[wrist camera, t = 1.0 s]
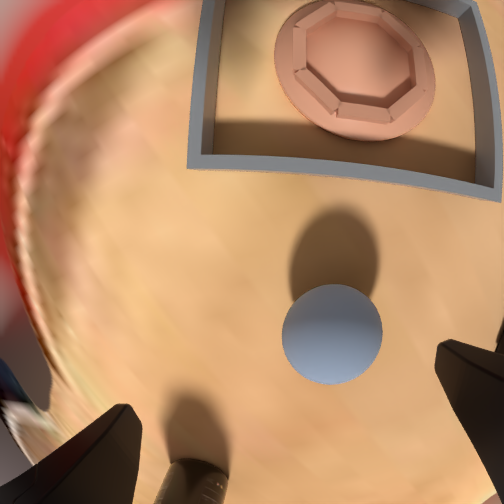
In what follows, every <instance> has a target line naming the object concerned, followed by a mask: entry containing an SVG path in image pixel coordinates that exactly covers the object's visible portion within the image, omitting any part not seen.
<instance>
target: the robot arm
mask: <svg viewBox="0 0 504 504" xmlns="http://www.w3.org/2000/svg"><path fill="white" fill-rule="evenodd" d="M435 372H436V374H437V376H438V378H439V380H440V383H441V385H442V387H443V389H444V391H445V393H446V395H447V398H448V400H449V402H450V404H451V406H452V408H453V410H454V412H455V414H456V416H457V418H458V419H459V421H460V423H461V424H462V426H463V428H464V430H465V431H466V433H467V435H468V437H469V439H470V440H471V442H472V444H473V446H474V448H475V449H476V451H477V453H478V455H479V457H480V459H481V461H482V463H483V465H484V467H485V469H486V471H487V473H488V475H489V477H490V479H491V481H492V483H493V485H494V487H495V489H496V491H497V493H498V495H499V498H500V500H501V502H502V504H504V331H503V334H502V337H501V340H500V343H499V345H498V348H497V351H496V353H495V352H492V351H488V350H485V349H482V348H478V347H475V346H472V345H469V344H465V343H462V342H459V341H456V340H453V339H448V340H446V341H443V342H441V343H439V344H438V346H437V352H436V359H435ZM141 439H142V423H141V421H140V419H139V418H138V416H137V415H136V413H135V411H134V410H133V408H132V406H131V405H129V404H116V405H114V406H113V407H112V408H111V409H109V410H108V411H107V412H105V413H104V414H103V415H102V416H100V417H99V418H98V419H96V420H95V421H94V422H92V423H91V424H90V425H88V426H87V427H86V428H84V429H83V430H82V431H80V432H79V433H78V434H76V435H75V436H74V437H72V438H71V439H70V440H68V441H67V442H66V443H64V444H63V445H62V446H60V447H59V448H58V449H56V450H55V451H54V452H52V453H51V454H49V455H48V456H47V457H45V458H44V459H42V460H41V461H40V462H38V464H35V465H34V466H33V467H31V468H30V469H29V470H27V471H25V472H24V473H22V474H21V475H20V476H18V477H16V478H15V479H13V480H11V481H9V482H8V483H6V484H4V485H2V486H0V504H132V502H133V497H134V491H135V486H136V481H137V476H138V470H139V461H140V449H141Z"/></svg>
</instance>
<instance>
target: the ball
mask: <svg viewBox="0 0 504 504" xmlns="http://www.w3.org/2000/svg"><path fill="white" fill-rule="evenodd" d="M382 332H383V331H382V322H381V318H380V315H379V313H378V311H377V309H376V307H375V306H374V304H373V303H372V302H371V300H370V299H369V298H368V297H367V296H366V295H364V294H363V293H362V292H360V291H358V290H357V289H355V288H352V287H350V286H346V285H341V284H328V285H322V286H318V287H316V288H313V289H311V290H309V291H307V292H306V293H304V294H303V295H302V296H300V297H299V298H298V299H297V300H296V301H295V302H294V304H293V305H292V306H291V308H290V309H289V311H288V313H287V315H286V317H285V320H284V324H283V329H282V344H283V348H284V352H285V355H286V357H287V359H288V361H289V362H290V364H291V365H292V367H293V368H294V369H295V370H296V371H297V372H298V373H300V374H301V375H302V376H303V377H305V378H307V379H309V380H311V381H314V382H317V383H321V384H328V385H330V384H340V383H345V382H347V381H350V380H352V379H354V378H356V377H358V376H359V375H361V374H362V373H363V372H364V371H366V370H367V369H368V368H369V366H370V365H371V364H372V363H373V361H374V360H375V358H376V356H377V354H378V352H379V349H380V347H381V342H382Z"/></svg>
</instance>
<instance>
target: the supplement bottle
mask: <svg viewBox="0 0 504 504" xmlns="http://www.w3.org/2000/svg"><path fill="white" fill-rule="evenodd" d="M227 486H228V479H227V477H226V475H225V474H224V473H223V472H222V471H221V470H220V469H218V468H217V467H215V466H213V465H211V464H208V463H206V462H203V461H199V460H193V459H181V460H177V461H175V462H173V463H172V464H171V465H170V467H169V469H168V471H167V474H166V476H165V478H164V480H163V483H162V485H161V487H160V490H159V492H158V494H157V496H156V499H155V501H154V503H153V504H223V503H224V499H225V495H226V491H227Z"/></svg>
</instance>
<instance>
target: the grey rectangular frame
mask: <svg viewBox="0 0 504 504" xmlns="http://www.w3.org/2000/svg"><path fill="white" fill-rule="evenodd" d="M225 1H226V0H203V5H202V11H201V18H200V25H199V32H198V40H197V48H196V56H195V65H194V75H193V85H192V96H191V107H190V121H189V135H188V153H187V169H193V170H201V171H246V172H269V173H286V174H301V175H313V176H325V177H336V178H345V179H355V180H363V181H372V182H380V183H387V184H394V185H401V186H408V187H415V188H421V189H427V190H433V191H439V192H444V193H450V194H455V195H460V196H465V197H470V198H475V199H479V200H485V201H492V202H499V203H501V198H502V180H503V142H502V124H501V112H500V102H499V94H498V87H497V81H496V75H495V69H494V64H493V59H492V55H491V50H490V46H489V42H488V38H487V34H486V31H485V27H484V24H483V20H482V17H481V14H480V11H479V8H478V5H477V2H475V1H473V0H406V1H409V2H413V3H416V4H419V5H423V6H426V7H429V8H432V9H435V10H438V11H440V12H443V13H446V14H449V15H451V16H454V17H456V18H458V20H459V24H460V27H461V32H462V36H463V40H464V45H465V50H466V55H467V60H468V66H469V72H470V79H471V86H472V95H473V105H474V118H475V141H476V168H475V184H473V183H469V182H464V181H460V180H455V179H451V178H446V177H441V176H436V175H430V174H425V173H420V172H414V171H408V170H402V169H395V168H389V167H382V166H374V165H367V164H359V163H350V162H341V161H331V160H320V159H308V158H295V157H278V156H256V155H213V140H214V123H215V108H216V94H217V81H218V69H219V58H220V47H221V37H222V27H223V18H224V9H225ZM274 60H275V67H276V72H277V76H278V79H279V82H280V85H281V87H282V89H283V91H284V92H285V94H286V96H287V97H288V99H289V100H290V101H291V103H292V104H293V105H294V106H295V107H296V108H297V110H298V111H299V112H300V113H302V114H303V115H304V116H305V117H306V118H307V119H308V120H310V121H311V122H313V123H314V124H315V125H317V126H319V127H321V128H322V129H324V130H326V131H328V132H330V133H333V134H335V135H337V136H340V137H344V138H347V139H351V140H357V141H367V142H373V141H383V140H389V139H392V138H395V137H398V136H400V135H403V134H404V133H406V132H408V131H410V130H412V129H413V128H414V127H416V126H417V125H418V124H419V123H420V122H421V121H422V120H423V119H424V118H425V116H426V115H427V113H428V112H429V109H430V107H431V105H432V102H433V99H434V95H435V74H434V68H433V65H432V62H431V59H430V57H429V55H428V52H427V50H426V49H425V47H424V45H423V44H422V42H421V41H420V39H419V38H418V37H417V35H416V34H415V33H414V32H413V31H412V30H411V29H410V28H409V27H408V26H407V25H406V24H405V23H404V22H402V21H401V20H400V19H398V18H397V17H396V16H394V15H393V14H391V13H389V12H388V11H386V10H384V9H382V8H380V7H377V6H375V5H372V4H369V3H366V2H362V1H357V0H323V1H319V2H315V3H312V4H310V5H307V6H305V7H304V8H302V9H300V10H298V11H297V12H296V13H294V14H293V15H292V16H291V17H290V18H289V19H288V20H287V21H286V22H285V24H284V25H283V27H282V28H281V30H280V32H279V34H278V37H277V40H276V43H275V51H274Z"/></svg>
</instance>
